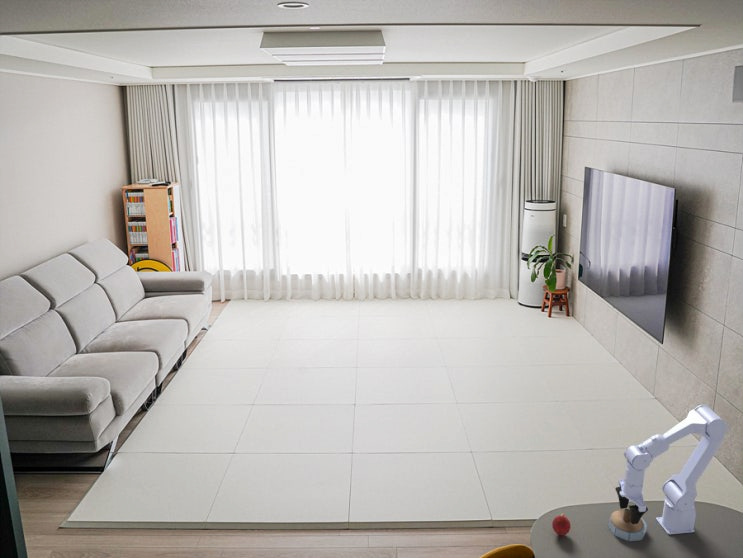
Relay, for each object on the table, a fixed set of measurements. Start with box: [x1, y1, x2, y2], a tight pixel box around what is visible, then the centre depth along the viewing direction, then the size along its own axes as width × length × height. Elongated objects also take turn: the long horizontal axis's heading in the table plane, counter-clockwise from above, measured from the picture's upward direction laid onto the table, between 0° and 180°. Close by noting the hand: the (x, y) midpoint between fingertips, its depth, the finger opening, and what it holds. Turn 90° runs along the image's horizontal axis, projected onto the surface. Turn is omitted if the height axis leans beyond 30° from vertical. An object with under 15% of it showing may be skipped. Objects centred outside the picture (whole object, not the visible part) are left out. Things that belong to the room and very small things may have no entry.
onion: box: [551, 513, 571, 536], centre depth 214 cm, size 6×6×8 cm
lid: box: [610, 508, 643, 532], centre depth 216 cm, size 10×10×4 cm
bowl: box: [608, 516, 648, 542], centre depth 217 cm, size 11×11×3 cm
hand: (628, 515), depth 216 cm, fingers open, 7 cm apart
